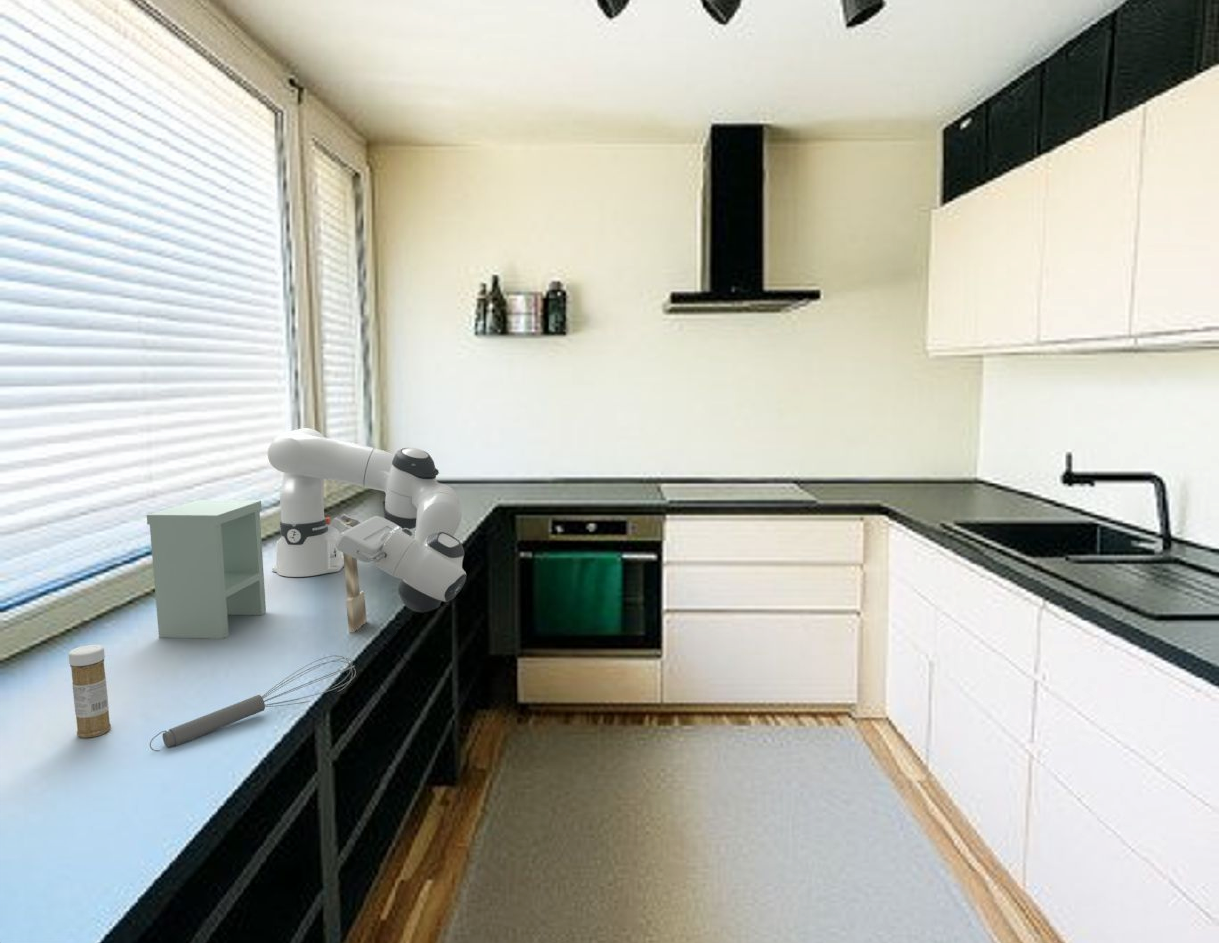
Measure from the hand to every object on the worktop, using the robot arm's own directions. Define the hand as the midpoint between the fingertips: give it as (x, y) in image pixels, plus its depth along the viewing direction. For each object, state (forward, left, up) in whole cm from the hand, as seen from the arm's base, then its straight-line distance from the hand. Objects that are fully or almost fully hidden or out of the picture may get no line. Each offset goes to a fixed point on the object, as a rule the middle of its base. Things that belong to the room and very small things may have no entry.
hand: (336, 518), depth 172 cm
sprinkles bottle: (+52, -18, -24) cm, 60 cm away
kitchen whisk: (+44, +5, -24) cm, 50 cm away
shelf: (0, -29, -24) cm, 37 cm away
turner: (0, +4, -12) cm, 13 cm away
